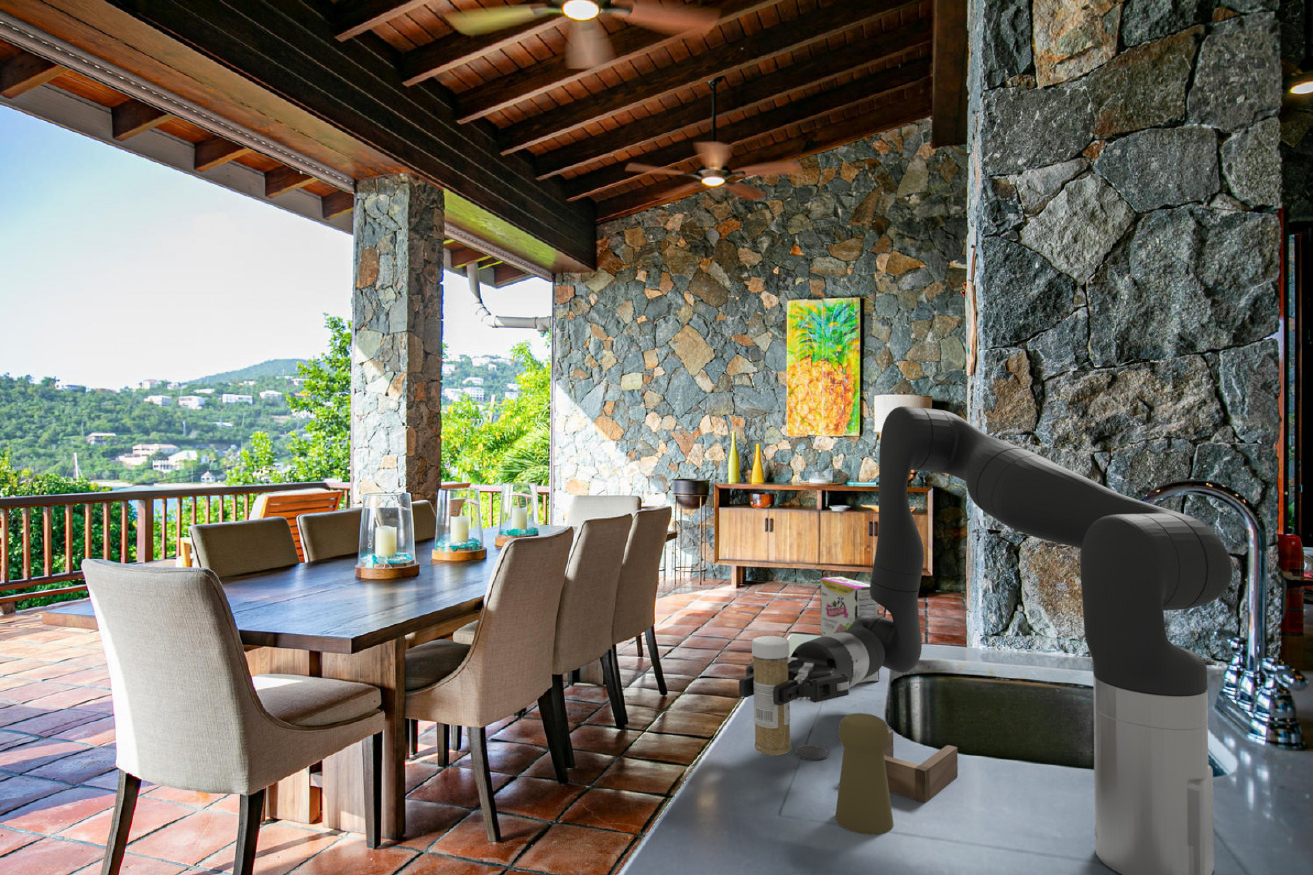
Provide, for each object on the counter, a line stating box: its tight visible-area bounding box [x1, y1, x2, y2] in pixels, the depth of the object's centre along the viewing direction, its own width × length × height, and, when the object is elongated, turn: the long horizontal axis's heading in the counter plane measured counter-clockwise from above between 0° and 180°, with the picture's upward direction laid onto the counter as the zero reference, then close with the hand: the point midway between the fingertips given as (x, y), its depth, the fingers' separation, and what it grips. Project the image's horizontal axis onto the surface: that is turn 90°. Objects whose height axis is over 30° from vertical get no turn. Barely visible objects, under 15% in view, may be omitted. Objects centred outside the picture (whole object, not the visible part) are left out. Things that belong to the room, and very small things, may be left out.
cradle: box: [883, 729, 959, 803], centre depth 94 cm, size 9×9×4 cm
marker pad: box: [795, 744, 829, 761], centre depth 101 cm, size 4×4×1 cm
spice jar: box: [751, 635, 792, 756], centre depth 96 cm, size 5×5×13 cm
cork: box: [834, 712, 895, 836], centre depth 83 cm, size 6×6×11 cm
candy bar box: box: [819, 576, 880, 685], centre depth 137 cm, size 11×5×16 cm, turn 22°
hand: (759, 692), depth 94 cm, fingers closed on spice jar, 4 cm apart
